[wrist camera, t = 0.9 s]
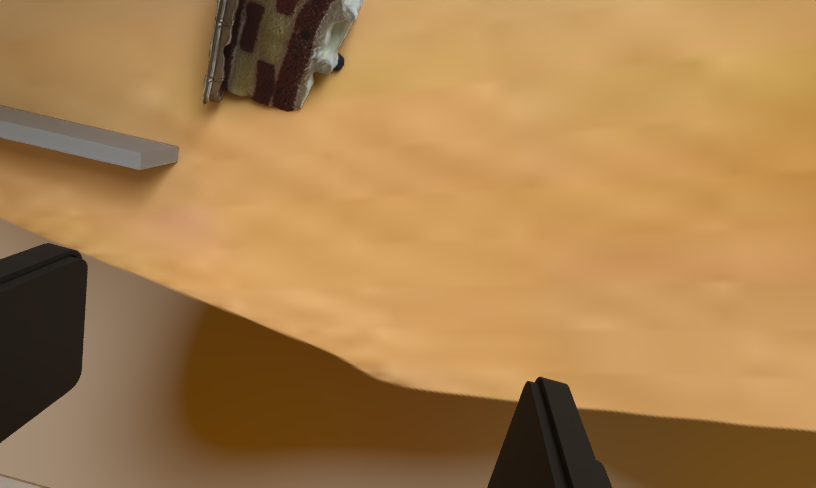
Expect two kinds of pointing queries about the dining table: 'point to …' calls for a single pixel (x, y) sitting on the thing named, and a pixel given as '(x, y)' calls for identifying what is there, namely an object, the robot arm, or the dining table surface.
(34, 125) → the box
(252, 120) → the dining table surface
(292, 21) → the chocolate cake
